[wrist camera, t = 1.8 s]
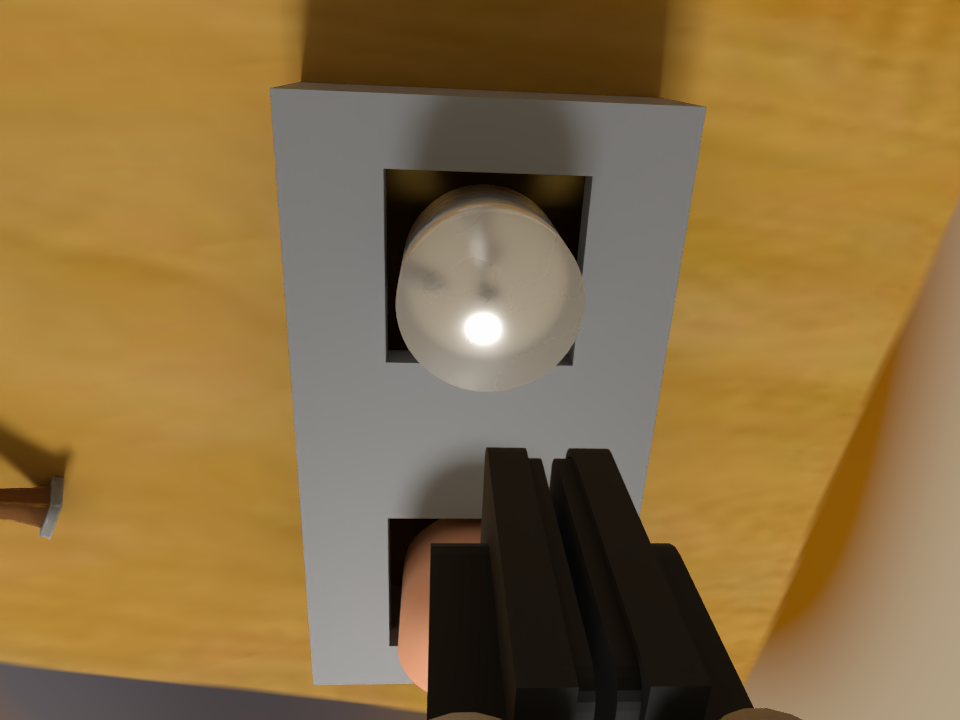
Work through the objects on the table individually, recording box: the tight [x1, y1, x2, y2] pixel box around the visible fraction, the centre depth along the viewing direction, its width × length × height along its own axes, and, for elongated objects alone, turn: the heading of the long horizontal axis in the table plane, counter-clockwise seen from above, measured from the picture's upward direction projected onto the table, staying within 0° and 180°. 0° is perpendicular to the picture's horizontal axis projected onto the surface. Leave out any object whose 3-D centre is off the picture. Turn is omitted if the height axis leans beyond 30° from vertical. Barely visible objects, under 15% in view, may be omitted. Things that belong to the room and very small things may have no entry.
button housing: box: [270, 82, 706, 685], centre depth 26 cm, size 22×12×4 cm, turn 178°
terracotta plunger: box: [398, 519, 482, 692], centre depth 25 cm, size 5×5×4 cm
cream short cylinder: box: [396, 184, 585, 392], centre depth 20 cm, size 5×5×4 cm
